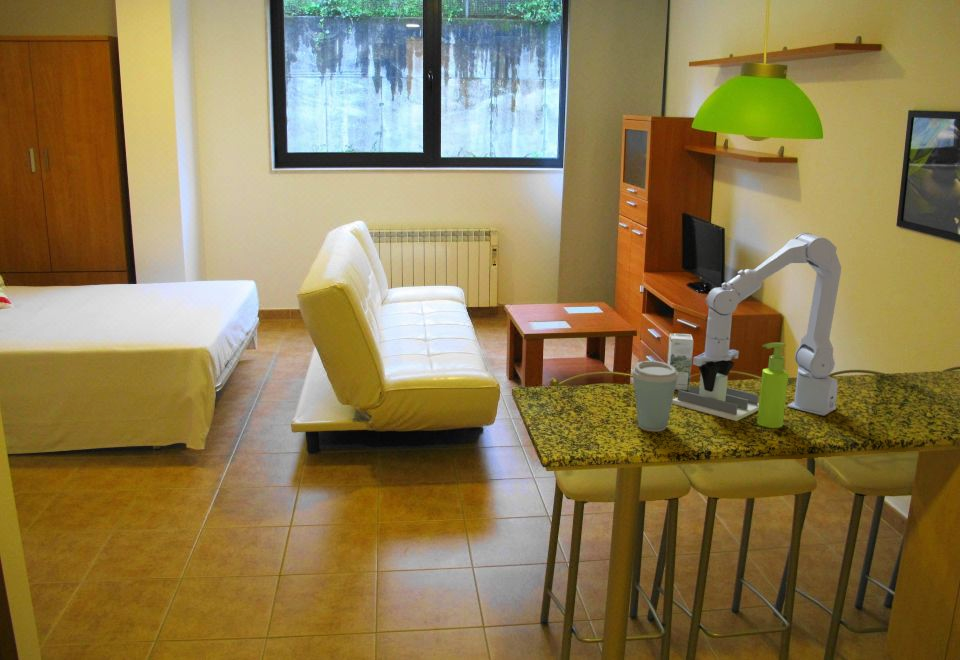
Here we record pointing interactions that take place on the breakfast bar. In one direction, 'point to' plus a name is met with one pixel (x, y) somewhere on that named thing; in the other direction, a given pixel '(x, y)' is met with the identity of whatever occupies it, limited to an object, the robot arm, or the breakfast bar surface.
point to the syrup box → (681, 358)
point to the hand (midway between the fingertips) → (713, 389)
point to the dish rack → (719, 403)
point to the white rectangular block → (715, 388)
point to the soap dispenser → (773, 389)
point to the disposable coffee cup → (654, 393)
